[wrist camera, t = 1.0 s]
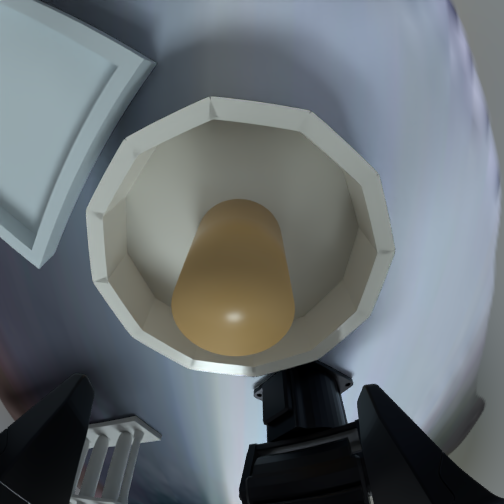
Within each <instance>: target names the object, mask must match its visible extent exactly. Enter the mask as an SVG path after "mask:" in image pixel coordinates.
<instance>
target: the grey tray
mask: <svg viewBox="0 0 504 504" xmlns="http://www.w3.org/2000/svg"><path fill="white" fill-rule="evenodd" d="M156 64H157V63H156V62H154V61H152V60H151V59H149V58H147V57H146V56H144V55H142V54H141V53H139V52H137V51H136V50H134V49H132V48H131V47H129V46H127V45H125V44H124V43H122V42H120V41H118V40H117V39H115V38H113V37H111V36H110V35H108V34H106V33H104V32H102V31H100V30H99V29H97V28H95V27H93V26H91V25H89V24H87V23H85V22H83V21H81V20H79V19H77V18H75V17H73V16H71V15H69V14H67V13H65V12H63V11H61V10H59V9H57V8H55V7H53V6H50V5H48V4H46V3H44V2H42V1H39V0H0V237H1V238H2V239H3V240H4V241H6V242H7V243H8V244H9V245H10V246H11V247H13V248H14V249H15V250H16V251H17V252H19V253H20V254H21V255H22V256H23V257H25V258H26V259H27V260H28V261H30V262H31V263H32V264H33V265H35V266H36V267H37V268H38V269H40V267H41V266H42V265H43V264H44V263H45V262H46V261H48V260H49V259H50V258H51V257H52V256H53V255H54V254H55V251H56V249H57V246H58V244H59V241H60V238H61V236H62V233H63V231H64V229H65V226H66V224H67V221H68V219H69V217H70V214H71V212H72V210H73V208H74V205H75V203H76V201H77V199H78V197H79V195H80V192H81V190H82V188H83V186H84V184H85V182H86V180H87V178H88V176H89V174H90V172H91V170H92V168H93V166H94V164H95V162H96V160H97V159H98V157H99V155H100V153H101V151H102V149H103V148H104V146H105V144H106V142H107V140H108V139H109V137H110V135H111V133H112V132H113V130H114V128H115V127H116V125H117V123H118V122H119V120H120V118H121V117H122V115H123V113H124V112H125V110H126V109H127V107H128V105H129V104H130V102H131V101H132V99H133V98H134V96H135V95H136V93H137V92H138V90H139V89H140V87H141V86H142V84H143V83H144V81H145V80H146V78H147V77H148V76H149V74H150V73H151V71H152V70H153V69H154V67H155V66H156Z"/></svg>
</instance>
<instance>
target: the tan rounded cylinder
mask: <svg viewBox="0 0 504 504" xmlns="http://www.w3.org/2000/svg"><path fill="white" fill-rule="evenodd" d="M171 308H172V314H173V318H174V320H175V323H176V325H177V326H178V328H179V330H180V331H181V332H182V333H183V335H184V336H185V337H186V338H187V339H189V340H190V341H191V342H192V343H194V344H195V345H197V346H199V347H200V348H202V349H204V350H207V351H209V352H212V353H216V354H220V355H226V356H246V355H251V354H256V353H259V352H262V351H264V350H266V349H268V348H270V347H272V346H274V345H275V344H276V343H278V342H279V341H280V340H281V339H282V338H283V337H284V336H285V335H286V333H287V332H288V331H289V329H290V327H291V325H292V322H293V319H294V314H295V304H294V298H293V292H292V287H291V282H290V276H289V271H288V266H287V260H286V255H285V250H284V245H283V240H282V235H281V230H280V227H279V224H278V222H277V220H276V218H275V217H274V215H273V214H272V213H271V212H270V211H269V210H268V209H267V208H265V207H264V206H262V205H261V204H258V203H256V202H254V201H251V200H246V199H232V200H227V201H224V202H221V203H219V204H217V205H215V206H214V207H212V208H211V209H210V210H209V211H208V212H207V213H206V214H205V215H204V217H203V218H202V220H201V222H200V224H199V227H198V229H197V232H196V234H195V237H194V239H193V242H192V244H191V247H190V249H189V252H188V254H187V257H186V260H185V262H184V265H183V267H182V270H181V273H180V275H179V278H178V281H177V283H176V286H175V289H174V291H173V295H172V301H171Z"/></svg>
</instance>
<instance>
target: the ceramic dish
mask: <svg viewBox="0 0 504 504" xmlns="http://www.w3.org/2000/svg"><path fill="white" fill-rule="evenodd" d="M232 199H246V200H251V201H254V202H256V203H258V204H261V205H262V206H264V207H265V208H267V209H268V210H269V211H270V212H271V213H272V214H273V215H274V217H275V218H276V220H277V222H278V224H279V227H280V230H281V235H282V240H283V245H284V250H285V255H286V260H287V266H288V271H289V276H290V282H291V287H292V292H293V298H294V304H295V314H294V319H293V322H292V325H291V327H290V329H289V331H288V332H287V333H286V335H285V336H284V337H283V338H282V339H281V340H280V341H279V342H278V343H276V344H275V345H274V346H272V347H270V348H268V349H266V350H264V351H262V352H259V353H256V354H251V355H246V356H226V355H220V354H216V353H212V352H209V351H207V350H204V349H202V348H200V347H199V346H197V345H195V344H194V343H192V342H191V341H190V340H189V339H187V338H186V337H185V336H184V335H183V333H182V332H181V331H180V330H179V328H178V326H177V325H176V323H175V320H174V318H173V314H172V308H171V301H172V295H173V291H174V289H175V286H176V283H177V281H178V278H179V275H180V273H181V270H182V267H183V265H184V262H185V260H186V257H187V254H188V252H189V249H190V247H191V244H192V242H193V239H194V237H195V234H196V232H197V229H198V227H199V224H200V222H201V220H202V218H203V217H204V215H205V214H206V213H207V212H208V211H209V210H210V209H211V208H212V207H214V206H215V205H217V204H219V203H221V202H224V201H227V200H232ZM86 221H87V234H88V245H89V255H90V264H91V272H92V280H93V281H94V282H93V283H94V284H95V286H96V287H97V289H98V290H99V292H100V293H101V295H102V296H103V298H104V299H105V300H106V302H107V303H108V305H109V306H110V308H111V309H112V310H113V312H114V313H115V315H116V316H117V317H118V319H119V320H120V322H121V323H122V324H123V326H124V327H125V328H126V330H127V331H128V332H129V334H130V335H131V336H133V338H135V339H136V340H138V341H140V342H141V343H143V344H145V345H147V346H148V347H150V348H152V349H153V350H155V351H157V352H159V353H160V354H162V355H164V356H166V357H168V358H169V359H171V360H173V361H175V362H177V363H179V364H180V365H182V366H184V367H186V368H188V369H191V370H198V371H205V372H213V373H221V374H229V375H238V376H248V377H255V376H256V377H258V376H262V375H266V374H269V373H273V372H277V371H281V370H284V369H288V368H291V367H295V366H298V365H302V364H305V363H308V362H312V361H315V360H318V358H319V359H320V358H321V357H322V356H324V355H325V354H326V353H327V352H329V351H330V350H331V349H332V348H334V347H335V346H336V345H337V344H338V343H340V342H341V341H342V340H343V339H344V338H346V337H347V336H348V335H349V334H350V333H352V332H353V331H354V330H355V329H356V328H357V327H358V326H360V325H361V324H362V323H363V322H364V321H365V320H366V319H368V318H369V317H370V315H371V313H372V311H373V308H374V306H375V303H376V301H377V298H378V296H379V293H380V291H381V288H382V286H383V283H384V281H385V278H386V275H387V273H388V270H389V267H390V265H391V262H392V259H393V256H394V254H395V251H394V250H395V245H394V240H393V235H392V229H391V224H390V219H389V215H388V210H387V205H386V201H385V197H384V192H383V188H382V184H381V180H380V176H379V174H378V172H377V171H376V170H375V169H374V168H373V167H372V166H371V165H370V164H369V163H368V162H367V161H366V160H365V159H364V158H363V157H362V156H360V155H359V154H358V153H357V152H356V151H355V150H354V149H353V148H352V147H351V146H350V145H349V144H348V143H347V142H346V141H345V140H344V139H342V138H341V137H340V136H339V135H338V134H337V133H336V132H335V131H334V130H333V129H331V128H330V127H329V126H328V125H327V124H326V123H325V122H323V121H322V120H321V119H320V118H319V117H318V116H316V115H315V114H314V113H313V112H312V111H310V110H304V109H299V108H294V107H288V106H282V105H276V104H270V103H263V102H257V101H249V100H241V99H233V98H224V97H214V96H211V97H207V98H205V99H202V100H200V101H198V102H196V103H193V104H191V105H189V106H187V107H185V108H183V109H180V110H178V111H176V112H174V113H172V114H170V115H168V116H166V117H164V118H162V119H160V120H158V121H156V122H154V123H152V124H150V125H148V126H146V127H145V128H143V129H141V130H139V131H137V132H135V133H133V134H132V135H130V136H128V137H126V138H125V139H124V140H123V142H122V143H121V145H120V147H119V149H118V150H117V152H116V154H115V155H114V157H113V159H112V161H111V163H110V164H109V166H108V168H107V170H106V172H105V173H104V175H103V177H102V179H101V181H100V183H99V185H98V187H97V189H96V191H95V193H94V195H93V197H92V199H91V201H90V203H89V205H88V207H87V209H86Z"/></svg>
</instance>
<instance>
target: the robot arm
mask: <svg viewBox="0 0 504 504" xmlns="http://www.w3.org/2000/svg"><path fill="white" fill-rule="evenodd" d="M352 385H353V381H352V379H351V378H349V377H348V376H346V375H344V374H342V373H340V372H338V371H336V370H335V369H333V368H331V367H329V366H327V365H325V364H324V363H322V362H320V361H318V360H315V361H312V362H308V363H305V364H302V365H298V366H295V367H291V368H288V369H284V370H281V371H279V372H278V373H276V374H275V375H274V376H273V377H271V378H270V379H269V380H267V381H266V382H265V383H263V384H262V385H261V386H259V387H258V388H257V389H255V390H254V397H255V398H257V399H260V400H262V401H263V422H264V424H265V425H267V443H263V444H250V445H249V449H248V453H247V456H246V460H245V465H244V469H243V474H242V478H241V483H240V487H239V498H240V500H241V501H242V504H371V502H370V496H372V497H373V502H374V504H504V498H500V497H498V496H496V495H494V494H492V493H491V492H489V491H488V490H487V489H486V488H484V487H483V486H482V485H481V484H479V483H478V482H476V481H475V480H474V479H473V478H472V477H470V476H469V475H468V474H467V473H465V472H464V471H463V470H462V469H461V468H459V467H458V466H457V465H456V464H455V463H454V462H453V461H452V460H451V459H450V458H449V457H448V456H447V455H446V454H445V453H444V452H442V450H441V449H440V448H439V447H438V446H437V445H436V444H435V443H434V442H433V441H432V440H431V439H430V438H429V437H428V436H427V435H426V434H425V433H424V432H423V431H422V430H421V429H420V428H419V427H418V426H417V425H416V424H415V423H414V422H413V421H412V420H411V419H410V417H409V416H408V415H407V414H406V413H405V412H404V411H403V410H402V409H401V408H400V407H399V406H398V405H397V404H396V403H395V402H394V401H393V400H392V399H391V398H390V397H389V396H388V395H387V394H386V393H385V392H384V391H383V390H382V389H381V388H380V387H379V386H378V385H377V384H368V385H364V386H363V388H362V391H361V393H360V396H359V398H358V401H357V408H358V417H359V419H357V420H355V422H351V423H347V419H346V414H345V410H344V406H343V401H342V397H341V393H343V392H344V391H346V390H347V389H348V388H350V387H351V386H352ZM93 399H94V389H93V387H92V385H91V383H90V381H89V379H88V377H87V376H86V375H85V374H80V373H75V374H73V375H72V376H70V377H69V378H68V379H67V380H65V381H64V382H63V383H62V384H60V385H59V386H58V387H57V388H55V389H54V390H53V391H52V392H50V393H49V394H48V395H47V396H46V397H44V398H43V399H42V400H41V401H39V402H38V403H37V404H36V405H34V406H33V407H32V408H31V409H30V410H28V411H27V412H26V413H25V414H23V415H22V416H21V417H20V418H19V419H17V420H16V421H15V422H14V423H13V424H11V425H10V426H9V427H8V429H5V430H4V431H3V432H1V433H0V504H69V503H70V498H71V494H72V490H73V485H74V481H75V477H76V473H77V469H78V465H79V461H80V457H81V454H82V450H83V446H84V443H85V439H86V436H87V432H88V427H89V421H90V415H91V410H92V404H93Z"/></svg>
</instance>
